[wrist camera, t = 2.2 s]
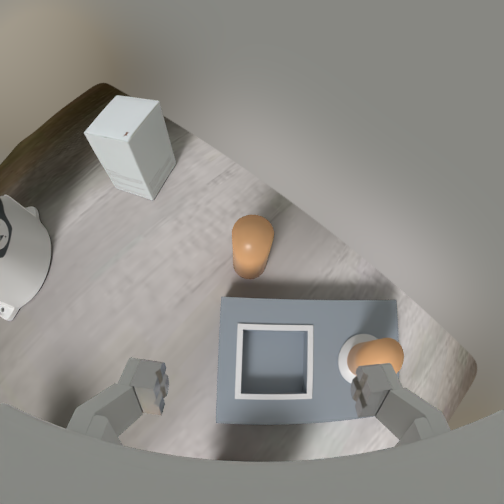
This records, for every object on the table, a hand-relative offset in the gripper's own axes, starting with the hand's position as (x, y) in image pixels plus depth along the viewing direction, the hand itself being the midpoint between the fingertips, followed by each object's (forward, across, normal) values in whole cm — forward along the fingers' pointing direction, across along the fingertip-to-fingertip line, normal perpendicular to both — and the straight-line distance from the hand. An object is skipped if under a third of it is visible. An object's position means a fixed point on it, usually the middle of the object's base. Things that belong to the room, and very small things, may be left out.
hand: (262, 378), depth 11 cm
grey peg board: (+16, -8, +15) cm, 24 cm away
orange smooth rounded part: (+25, 0, +7) cm, 26 cm away
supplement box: (+34, +16, -3) cm, 38 cm away
